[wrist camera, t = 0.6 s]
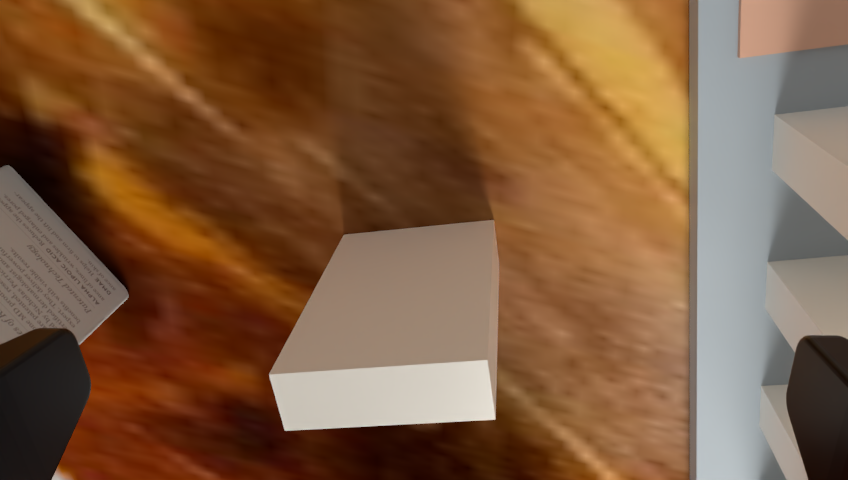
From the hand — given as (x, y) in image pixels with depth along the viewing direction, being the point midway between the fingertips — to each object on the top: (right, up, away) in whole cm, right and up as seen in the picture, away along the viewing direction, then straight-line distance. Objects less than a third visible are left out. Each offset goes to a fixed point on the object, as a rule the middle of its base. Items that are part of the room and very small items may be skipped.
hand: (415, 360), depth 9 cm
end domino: (0, +1, +14) cm, 14 cm away
